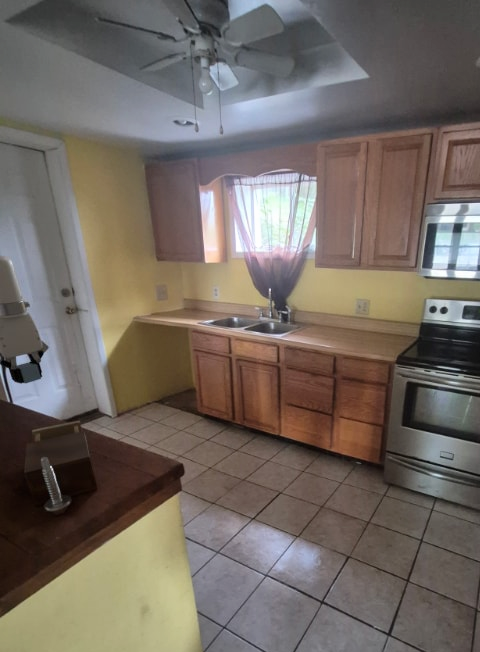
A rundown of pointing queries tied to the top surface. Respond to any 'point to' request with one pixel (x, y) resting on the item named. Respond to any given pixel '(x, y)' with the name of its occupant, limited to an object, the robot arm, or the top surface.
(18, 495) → the top surface
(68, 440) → the cabinet
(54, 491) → the screw
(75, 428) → the drawer
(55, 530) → the top surface
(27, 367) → the block
